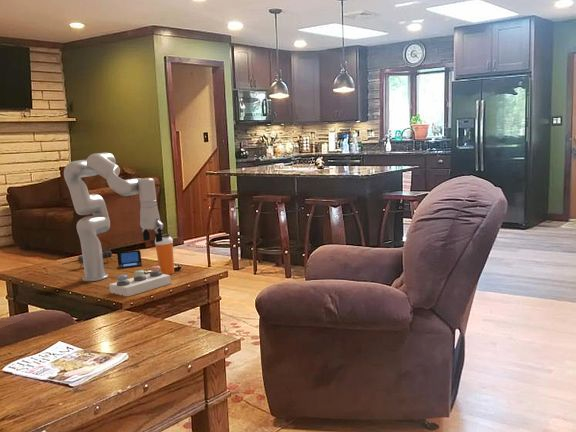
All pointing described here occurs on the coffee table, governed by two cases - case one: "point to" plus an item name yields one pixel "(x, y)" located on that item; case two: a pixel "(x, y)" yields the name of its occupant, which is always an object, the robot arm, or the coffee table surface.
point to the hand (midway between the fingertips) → (153, 240)
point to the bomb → (105, 255)
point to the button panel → (140, 283)
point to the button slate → (122, 277)
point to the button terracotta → (155, 268)
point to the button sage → (139, 272)
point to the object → (129, 259)
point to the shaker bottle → (165, 254)
